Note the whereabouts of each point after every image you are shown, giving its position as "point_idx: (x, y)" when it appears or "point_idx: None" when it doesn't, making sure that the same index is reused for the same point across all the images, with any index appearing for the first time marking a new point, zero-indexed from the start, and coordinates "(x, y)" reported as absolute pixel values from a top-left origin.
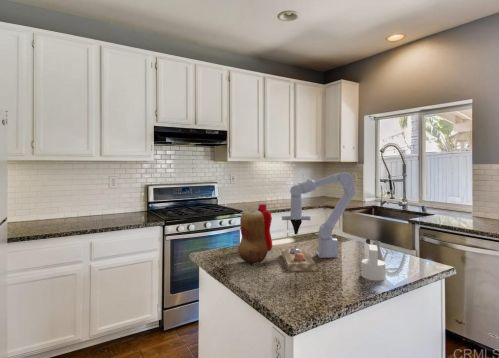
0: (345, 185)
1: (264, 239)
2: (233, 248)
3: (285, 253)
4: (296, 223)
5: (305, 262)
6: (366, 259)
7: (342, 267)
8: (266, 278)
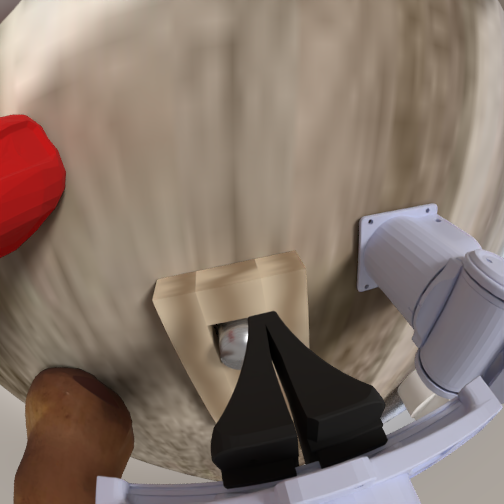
0: None
1: (119, 471)
2: None
3: (191, 362)
4: (299, 425)
5: None
6: (433, 395)
7: (389, 356)
8: (176, 443)
